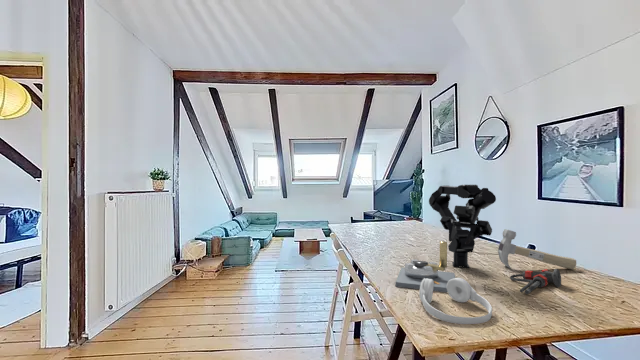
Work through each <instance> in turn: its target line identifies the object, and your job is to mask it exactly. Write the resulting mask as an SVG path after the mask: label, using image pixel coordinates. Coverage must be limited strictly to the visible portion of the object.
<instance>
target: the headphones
mask: <svg viewBox="0 0 640 360" xmlns="http://www.w3.org/2000/svg"><path fill="white" fill-rule="evenodd" d="M433 287H434V281H433V280H432V279H428V278H426V279H425V278H424V279H423V280H422V282H421V285H420V289H419V293H418V294H419V295H418V296H419V300H420V301H421V303H422V305H423V307H424V309H425V311H426V312H427V313H428V314H429V315H431V316H432V317H434V318H436V319H438V320H440V321H443V322H447V323H452V324H459V325H460V324H461V325H475V324H483V323H486V322H488V321H490V320H491V318H492V316H493V307H492V305H491V303H490V302H489V300H487V299H486V298H485V297H483V296H482V295H480V294H478V293H477V291H476V290H475V289H474V288H473V287H472V286H471V284H470V283H469V281H467V280H466V279H465V278H463V277H455V278H454V279H451V280H449V281H448V283H447V292H446V293H447V294H448V295H449V297H450V298H451V300H454V301H455V302H458V303H461V304H462V303H467V302H468V301H472V302H477V303H479V304H480V305H482V307H483V308H485V310H487V311H488V313H487V314H485V315H482V316H474V317H472V316H471V317H470V316H469V317H468V316H466V317H465V316H457V315H456V316H455V315H452V314H451V315H450V314H447V313H444V312H443V311H441V310H438V309H437V308H435V307H434V306H432V304H431V302H432V300H433V293H434V291H433Z"/></svg>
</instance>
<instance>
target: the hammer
mask: <svg viewBox="0 0 640 360" xmlns="http://www.w3.org/2000/svg"><path fill="white" fill-rule="evenodd" d="M516 236H517V232H516V231H513V230H511V229H507V228H505V229H503V230H502V237H503V238H502V239H501V240H500V242H499V246H498V248H497V254H498V258H499V260H500V262H501V263H502V264H503V265H504V266H505V267H507V268H509V269H510V268H511V266H510V265H509V255H518V256H522V257H525V258H528V259H529V258H530V259H533V260H536V261H539V262H542V263H545V264H549V265H552V266H557V267H561V268H564V269H567V270H572V271H573V270H575V268H576V266H577V260H576V259H575V258H573V257H568V256H561V255H556V254H553V253H549V252H543V251H540V250H536V249H531V248H528V247H523V246H518V245H516V244H514V243H512V240H515V238H516Z"/></svg>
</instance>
